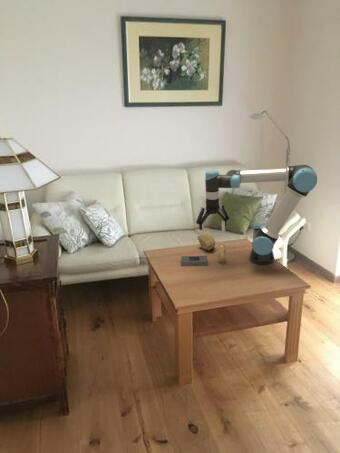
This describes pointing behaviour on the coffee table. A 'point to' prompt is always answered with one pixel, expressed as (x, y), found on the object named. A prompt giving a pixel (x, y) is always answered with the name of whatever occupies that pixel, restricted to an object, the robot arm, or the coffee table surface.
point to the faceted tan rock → (206, 241)
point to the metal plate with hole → (194, 260)
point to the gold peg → (222, 254)
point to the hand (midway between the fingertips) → (212, 233)
